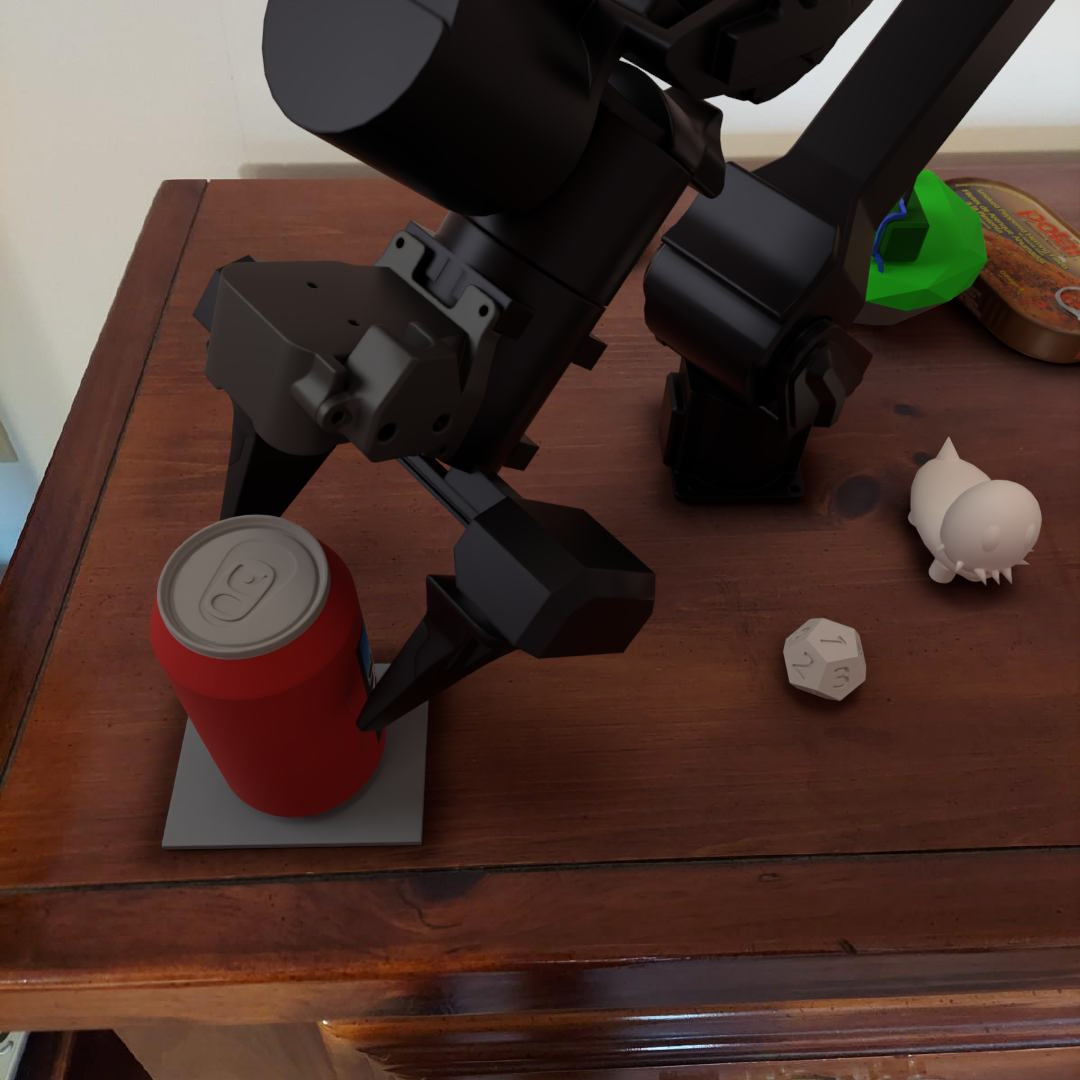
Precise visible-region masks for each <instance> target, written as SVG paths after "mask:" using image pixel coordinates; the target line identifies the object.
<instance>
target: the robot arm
mask: <svg viewBox="0 0 1080 1080" xmlns="http://www.w3.org/2000/svg"><path fill="white" fill-rule="evenodd" d="M873 2H874V0H267V3H266V8H265V12H264V17H263V22H262V23H263V24H262V36H261V37H262V38H261V55H262V65H263V73H264V77H265V81H266V83H267V87H268V89H269V93H270V95H271V97H272V99H273V101H274V102H275V104H276V105H277V107H278V108H279V109H280V111H281V112H282V114H283V115H284V116H285V117H286V119H288V120H289V121H290V122H291V123H292V124H294V125H296V126H297V127H299V128H300V129H302V130H304V131H306V132H307V133H310V134H312V136H315V137H317V138H318V139H320V140H322V141H323V142H325V143H327V144H329V145H331V146H333V147H334V148H336V149H337V150H340V151H341V152H343V153H346V154H347V155H348V156H350V157H352V158H354V159H356V160H357V161H359V162H361V163H363V164H365V165H367V166H368V167H370V168H372V169H374V170H375V171H377V172H379V173H381V174H383V175H384V176H386V177H388V178H390V179H391V180H393V181H395V182H397V183H399V184H400V185H402V186H404V187H406V188H407V189H410V190H411V191H413V192H415V193H417V194H418V195H420V196H422V197H423V198H425V199H427V200H429V201H431V202H433V203H434V204H435V205H437V206H440V207H441V208H443V209H445V210H448V212H447V214H446V215H445V217H444V218H443V220H442V222H441V223H440V226H439V227H438V229H437V230H436V231H433V230H432V229H429V228H427V227H426V226H424V225H422V224H420V223H418V222H416V221H414V220H413V219H410V220H408V221H409V222H407V225H406V226H405V228H404V229H400V230H397V231H396V232H395V233H394V234H393V235H392V237H391V239H390V241H389V243H388V244H387V246H386V248H385V250H384V251H383V253H382V254H381V255H380V256H379V257H378V258H377V259H376V260H375V261H374V262H373V263H372V264H371V265H366V264H365V265H364V264H351V263H348V262H344V261H339V260H285V261H284V260H282V261H279V260H278V261H275V260H274V261H266V260H264V259H261V258H258V257H255V256H253V255H250V254H247V255H245V256H243V257H240V258H237V259H236V260H234V261H231V262H230V263H227V264H225V265H222V266H221V267H219V268H216V269H215V271H214V272H213V274H212V275H211V276H212V277H210V280H209V282H208V284H207V286H206V288H205V290H204V292H203V293H202V295H201V297H200V299H199V301H198V303H197V305H196V306H195V308H194V311H193V312H192V314H191V315H192V316H193V318H194V319H196V320H197V322H198V323H199V324H200V325H201V326H202V327H203V328H205V330H206V331H207V332H208V333H209V334H210V335H209V339H207V340H206V341H205V352H206V357H205V358H206V359H205V365H204V370H203V373H204V376H205V378H206V379H207V381H208V382H209V383H210V384H211V386H213V387H214V389H216V390H217V391H221V390H223V391H224V392H225V393H226V394H227V395H228V396H229V398H230V402H231V404H232V411H233V414H232V417H233V418H232V426H231V428H232V429H231V439H230V440H231V441H230V449H229V458H228V464H227V471H226V477H225V484H224V488H223V489H224V490H223V495H222V501H221V508H220V515H219V521H222V520H225V519H229V518H232V517H237V516H244V515H269V516H275V517H280V518H282V516H283V514H284V513H285V512H286V511H287V510H288V508H289V507H290V506H291V504H292V503H293V502H294V500H295V499H296V498H297V497H298V496H299V494H300V493H301V492H302V491H303V489H304V488H305V486H307V484H308V483H309V482H310V481H311V480H312V478H313V477H314V475H315V474H316V472H317V471H318V470H319V469H320V468H321V467H322V465H323V464H324V462H325V461H326V460H327V459H328V458H329V457H330V455H331V454H332V453H333V452H334V450H335V449H336V447H338V446H339V445H344V444H350V443H351V444H352V445H353V446H354V447H355V448H356V449H357V450H358V451H359V452H360V453H361V454H362V455H363V457H365V458H366V459H367V460H368V461H369V462H371V463H373V464H377V463H382V462H387V461H388V462H389V461H392V460H396V461H397V463H399V464H400V465H401V466H402V467H403V468H404V469H405V470H406V471H407V472H408V473H409V474H410V475H411V476H412V477H413V478H414V479H415V480H416V482H418V483H419V484H420V485H421V486H423V488H424V489H425V490H427V492H428V493H429V494H431V495H432V496H433V498H435V499H436V500H437V501H438V502H439V503H440V504H441V506H442V507H444V508H445V509H446V510H447V511H448V512H449V513H450V514H451V515H452V516H453V517H454V518H455V520H457V521H458V522H459V523H460V524H461V525H462V526H463V527H464V528H465V530H464V531H463V532H462V534H461V536H460V537H459V539H458V540H457V542H456V544H454V547H453V562H454V563H453V564H454V574H453V575H452V574H436V573H435V574H434V573H428V574H427V575H426V577H425V592H426V593H425V595H426V610H425V611H426V612H425V614H424V616H423V617H422V619H421V620H420V622H419V623H418V624H417V626H416V627H415V629H414V630H413V632H412V633H411V635H410V636H409V638H408V639H407V640H406V642H405V643H404V645H403V646H402V647H401V649H400V650H399V651H398V653H397V655H396V656H395V657H394V659H393V660H392V662H390V664H391V665H390V666H389V667H388V669H387V670H386V672H385V673H384V674H383V676H382V677H381V679H380V680H379V682H378V683H377V684H376V686H375V687H374V689H373V690H372V692H371V693H370V695H369V697H368V699H367V701H366V703H365V705H364V707H363V709H362V711H361V713H360V714H359V716H358V718H357V720H356V726H357V727H358V728H359V730H360V731H361V732H370V731H377V730H380V729H382V728H384V727H386V726H387V725H389V724H391V723H392V722H394V721H396V720H397V719H399V718H400V717H402V716H404V715H405V714H407V713H408V712H410V711H412V710H413V709H415V708H416V707H418V706H420V705H421V704H423V703H425V702H426V701H428V700H429V701H430V700H431V699H433V698H434V697H436V696H438V695H439V694H441V693H443V692H444V691H446V690H447V689H449V688H451V687H452V686H454V685H455V684H457V683H459V682H460V681H462V680H463V679H465V678H467V677H468V676H470V675H471V674H473V673H475V672H476V671H478V670H480V669H482V668H484V667H485V666H487V665H489V664H491V663H492V662H494V661H496V660H497V661H498V660H499V659H500V658H503V657H505V656H507V655H509V654H512V653H513V652H516V651H522V652H524V653H526V654H528V655H530V656H532V657H534V658H535V659H537V660H543V659H557V658H573V657H585V656H598V655H613V654H624V653H625V651H626V650H627V649H628V647H629V646H630V645H631V643H632V642H633V640H634V639H635V638H636V636H638V634H639V633H640V631H641V630H642V629H643V628H644V627H645V625H646V623H647V622H648V621H649V619H650V618H651V616H653V613H654V608H655V603H656V602H655V601H656V585H657V584H656V583H657V573H656V572H655V571H654V570H653V569H652V568H651V567H649V566H648V564H646V563H645V562H643V561H642V560H641V559H640V558H639V557H638V556H637V555H636V554H635V553H634V552H632V551H631V550H630V549H629V548H628V547H627V546H625V545H624V544H623V543H622V542H621V541H620V540H619V539H618V538H617V537H616V536H614V535H613V534H612V533H611V532H610V531H609V530H608V529H607V528H605V527H604V526H603V525H602V524H601V523H599V521H597V520H596V519H595V518H594V517H593V516H592V515H591V514H590V513H589V512H588V511H586V510H585V509H584V508H579V507H573V506H569V505H563V504H558V503H551V502H545V501H542V500H541V501H540V500H535V499H530V498H524V497H523V496H521V495H520V494H519V493H518V491H516V490H515V489H514V488H513V487H512V486H511V485H510V484H509V483H507V481H505V479H503V478H502V477H501V476H500V475H499V473H500V471H501V470H502V468H503V467H504V468H507V469H512V470H515V471H521V472H525V471H526V469H527V468H528V466H529V464H530V463H531V462H532V460H533V458H534V457H535V456H536V454H537V452H538V451H539V450H540V446H539V445H538V444H537V443H536V442H534V441H533V440H532V439H531V437H529V436H528V435H526V434H525V433H526V431H527V430H528V428H529V427H530V426H531V424H532V422H533V421H534V419H535V418H536V417H537V415H538V414H539V412H540V411H541V409H542V407H543V406H544V404H545V403H546V402H547V400H548V399H549V397H550V395H551V394H552V393H553V391H554V389H555V387H556V386H557V385H558V383H559V382H560V381H561V379H562V377H563V376H564V374H565V373H566V371H567V369H568V368H569V366H570V365H571V364H573V365H576V366H577V367H580V368H583V369H585V370H588V371H590V372H592V370H593V369H594V367H595V366H596V364H597V363H598V361H599V360H600V358H601V357H602V355H603V354H604V353H605V351H606V349H607V347H608V344H607V343H605V341H603V340H602V339H600V338H599V337H598V336H597V335H595V334H594V333H592V332H593V330H594V329H595V327H596V326H597V324H598V322H599V321H600V320H601V318H602V316H603V315H604V314H605V312H606V311H607V307H609V306H610V304H611V303H612V302H613V300H614V298H615V297H616V295H617V294H618V292H619V291H620V290H621V287H622V286H623V284H624V283H625V281H626V280H627V279H628V277H629V276H630V274H631V272H632V271H633V269H634V268H635V266H636V265H637V263H638V262H639V260H640V259H641V257H642V256H643V255H644V253H645V251H646V250H647V248H648V247H649V245H650V244H651V242H652V241H653V239H654V238H655V236H656V235H657V233H658V232H659V230H660V228H661V227H662V226H663V224H664V222H665V221H666V220H667V218H668V216H669V215H670V214H671V212H672V210H673V209H674V208H675V206H676V204H677V203H678V201H679V200H680V198H681V197H682V195H683V193H684V192H685V191H686V189H687V188H688V187H689V188H690V189H692V190H694V191H695V192H697V195H696V197H694V199H693V201H692V202H691V204H690V205H689V207H688V208H687V210H686V211H685V212H684V213H683V215H681V216H680V218H679V219H678V220H677V221H676V223H674V224H673V225H672V226H671V227H670V228H669V229H668V230H667V231H665V232H664V233H663V234H662V235H661V237H660V242H661V244H660V245H659V247H658V248H657V249H656V250H655V251H654V253H653V255H652V256H651V258H650V259H649V262H648V263H647V266H646V268H645V270H644V275H643V278H642V279H643V280H642V289H643V291H642V292H643V295H644V299H645V300H644V305H643V316H644V324H645V325H646V327H647V329H648V330H649V331H650V333H652V335H654V338H655V341H656V342H657V343H659V344H660V345H662V346H663V347H666V346H667V348H668V349H670V350H672V351H673V352H675V353H676V354H677V355H679V356H680V363H679V369H678V371H670V372H668V374H667V375H666V377H665V378H666V379H665V385H664V391H663V397H662V404H661V410H660V415H659V422H658V429H657V431H658V437H659V444H660V445H659V447H660V453H661V460H662V464H663V465H664V467H666V468H669V469H670V476H671V477H670V478H671V484H672V489H673V490H672V492H673V496H674V499H675V500H676V501H677V502H680V503H684V504H699V503H700V504H703V503H704V504H707V503H713V504H715V503H716V504H717V503H719V504H721V503H725V504H726V503H796V502H800V501H801V500H802V499H803V498H804V495H805V493H806V488H805V484H804V479H803V476H802V470H801V466H800V465H801V462H802V458H803V456H804V452H805V449H806V446H807V442H808V440H809V437H810V434H811V431H812V428H820V429H821V428H823V429H830V428H832V426H834V425H836V424H837V423H838V422H839V419H840V417H841V413H842V411H843V408H844V405H845V402H846V399H847V398H849V397H850V396H852V395H853V393H854V392H855V391H856V389H857V388H858V387H859V386H860V385H861V384H862V382H863V380H864V375H865V374H866V371H867V369H868V368H869V366H870V364H871V362H872V360H873V358H874V353H872V352H871V350H869V349H868V348H866V346H864V345H863V344H862V343H860V342H859V341H858V339H856V338H855V337H854V336H852V335H851V334H850V333H849V332H847V331H848V330H849V329H850V328H851V326H852V324H854V323H853V322H854V320H855V319H856V317H857V316H858V314H859V313H860V312H861V310H862V308H863V307H864V304H865V300H866V293H867V286H868V279H869V272H870V264H871V257H872V250H873V243H874V236H875V232H876V230H877V229H878V227H879V226H880V224H881V223H882V222H883V220H884V219H885V217H886V216H887V215H888V214H889V212H890V211H891V210H892V209H893V207H894V206H895V205H896V203H897V202H898V201H899V200H900V198H901V197H902V196H903V194H904V193H905V192H906V191H907V189H908V188H909V187H910V186H911V184H912V183H913V182H914V180H915V179H916V178H917V177H918V175H919V174H920V173H921V171H922V170H925V168H926V166H927V165H928V164H929V163H930V161H932V159H933V157H934V156H935V155H936V154H937V153H938V151H939V150H940V148H941V147H942V146H943V145H944V143H945V142H947V140H948V138H949V137H950V136H951V135H952V133H953V132H954V131H955V130H956V129H957V127H958V126H959V124H960V123H961V122H962V120H963V119H964V118H965V117H966V116H967V114H968V113H969V112H970V111H971V109H972V108H973V106H974V105H975V104H976V103H977V101H978V100H979V99H980V97H982V95H983V94H984V92H985V91H986V90H987V88H989V86H990V85H991V83H992V82H993V81H994V80H995V78H996V77H997V76H998V75H999V73H1000V72H1001V71H1002V70H1003V68H1004V67H1005V65H1007V63H1008V62H1009V60H1010V59H1011V58H1012V57H1013V55H1014V54H1015V53H1016V51H1017V50H1018V49H1019V48H1020V46H1021V45H1022V44H1023V43H1024V41H1025V40H1026V38H1028V36H1029V35H1030V33H1032V31H1033V30H1034V29H1035V27H1036V26H1037V25H1038V23H1039V22H1040V21H1041V19H1042V18H1043V17H1044V16H1045V14H1046V13H1047V12H1048V11H1049V10H1050V8H1051V7H1052V6H1053V4H1054V3H1055V2H1056V0H900V1H899V3H898V4H897V6H896V7H895V8H894V9H893V11H892V13H890V15H889V17H887V19H886V21H885V22H884V23H883V25H882V26H881V27H880V29H879V30H878V31H877V32H876V34H875V35H874V37H873V38H872V39H871V41H870V42H869V43H868V44H867V46H866V47H865V49H863V51H862V53H861V54H860V55H859V56H858V58H857V59H856V61H854V63H853V65H852V66H851V67H850V69H848V72H847V73H846V74H845V75H844V77H843V78H842V79H841V81H840V82H839V83H838V85H837V86H836V87H835V89H834V90H833V91H832V93H830V96H829V97H828V98H827V100H826V101H825V102H824V104H823V105H822V106H821V108H820V109H819V110H818V111H817V113H816V114H815V115H814V116H813V118H812V120H811V121H810V122H809V123H808V125H807V126H806V128H805V129H804V130H803V131H802V132H801V134H800V135H799V137H798V138H797V140H796V141H795V142H794V143H793V144H792V146H791V147H790V148H789V149H788V150H787V151H786V153H785V154H783V155H782V156H779V157H777V158H776V159H774V160H771V161H769V162H767V163H765V164H762V165H760V166H758V167H756V168H753V169H752V170H749V169H746V168H745V167H743V166H742V165H739V164H738V163H737V162H734V161H733V160H729V161H726V160H725V156H724V152H723V149H722V148H723V147H722V140H721V139H722V138H721V134H722V127H723V126H722V125H723V121H724V112H723V110H722V109H721V108H720V107H718V106H716V105H715V104H713V103H711V102H709V101H707V100H708V99H712V98H717V97H720V96H725V97H727V98H730V99H733V100H736V101H741V102H750V103H751V104H752V105H756V106H758V105H761V104H764V103H767V102H770V101H772V100H774V99H776V98H777V97H779V96H780V95H782V94H783V93H784V92H786V91H788V89H790V88H792V87H793V86H795V85H796V84H797V83H799V82H800V80H802V78H803V77H805V76H806V75H807V74H809V73H810V72H811V71H812V70H814V69H815V68H816V67H817V66H819V65H820V64H822V62H823V61H824V60H825V58H826V57H827V55H828V54H829V53H830V52H831V51H832V49H833V48H834V47H835V46H836V44H837V42H838V40H839V39H840V38H841V37H842V36H843V35H844V34H845V33H846V32H847V30H849V28H851V26H853V24H854V23H855V22H857V19H859V18H860V16H862V15H863V13H864V12H865V11H866V10H867V9H868V8H869V7H870V6H871V5H872V4H873ZM621 58H622V59H624V60H626V61H627V62H626V61H624V60H621ZM646 72H647V73H646ZM649 74H650V75H651V76H654V77H655V78H657V79H658V80H660V81H662V82H664V83H665V84H667V85H669V87H668V88H665V89H663V88H661V87H660V85H659V84H658V83H657V82H656V81H655V80H654V79H653V78H652V77H651V76H650V75H649ZM440 462H441V463H440ZM442 463H443V464H444V465H447V466H448V467H450V468H449V469H447V468H446V467H445V466H443V465H442ZM683 492H685V493H683ZM219 521H218V522H219Z"/></svg>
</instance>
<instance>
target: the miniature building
mask: <svg viewBox="0 0 1080 1080" xmlns="http://www.w3.org/2000/svg"><path fill="white" fill-rule="evenodd" d="M943 181H944V180H942V179H941V178H940V177H939V176H938V175H937V174H936V173H934V172H933V170H931V169H923V170H922V171H921V173H920V174H919V175H918V177H917V178H916V179H915V180H914V182H913V183H912V184H911V186H910V187H909V188H908V189H907V191H906V192H905V193H904V194H903V196H902V197H901V198H900V200H899V201H898V202H897V203H896V205H895V206H894V207H893V209H892V210H891V211H890V212H889V214H888V215H887V216H886V217H885V219H884V220H883V222H882V223H881V224H880V226H879V227H878V229H877V230H876V232H875V236H874V243H873V250H872V257H871V264H870V272H869V279H868V286H867V293H866V300H865V304H864V307H863V308H862V310H861V312H860V313H859V314H858V316H857V317H856V319H855V320H854V322H853V323H852V324H860V325H868V326H870V325H871V326H894V325H896V324H899V323H901V322H904V321H906V320H907V319H910V318H913V317H915V316H918V315H920V314H922V313H925V312H927V311H929V310H931V309H933V308H936V307H938V306H940V305H943V304H946V303H948V302H950V301H951V300H953V299H954V298H956V296H957V295H959V294H960V293H962V292H963V291H965V290H966V289H968V288H969V287H971V286H972V284H973V282H974V281H975V279H976V278H977V276H978V274H979V273H980V271H981V270H982V268H983V267H984V265H985V263H986V262H987V254H986V249H985V243H984V237H983V232H982V226H981V220H980V215H979V214H978V213H977V212H976V211H974V210H973V209H972V208H971V207H970V206H969V205H968V204H967V203H966V202H965V201H964V200H963V199H961V198H960V197H959V196H958V195H957V194H956V193H955V192H954V191H953V190H952V189H951V188H950V187H948V186H947V185H946V184H945V183H944V182H943Z"/></svg>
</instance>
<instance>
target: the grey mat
mask: <svg viewBox="0 0 1080 1080" xmlns="http://www.w3.org/2000/svg"><path fill="white" fill-rule="evenodd" d="M390 665H391V663H374V668H375V672H376V677H377V682H379V680H380V679H381V677H382V676H383V674H384V673H385V672H386V670H387V669H388V667H389V666H390ZM429 701H430V699H429V700H428V701H426V702H425V703H423V704H421V705H420V706H418V707H416V708H415V709H413V710H412V711H410V712H408V713H407V714H405V715H404V716H402V717H400V718H399V719H397V720H396V721H394V722H392V723H391V724H389V725H387V726H386V741H385V747H384V751H383V754H382V757H381V759H380V762H379V764H378V766H377V768H376V769H375V771H374V773H373V774H372V776H371V777H370V779H369V780H368V781H367V782H366V784H365V785H364V786H363V787H362V788H361V789H360V790H359V791H358V792H357V793H355V794H354V795H353V796H352V797H350V798H349V799H348V800H346V801H345V802H343V803H342V804H340V805H338V806H336V807H334V808H332V809H329V810H327V811H324V812H322V813H318V814H314V815H310V816H304V817H280V816H274V815H270V814H267V813H264V812H261V811H259V810H257V809H254V808H253V807H251V806H249V805H248V804H246V803H245V802H243V801H242V800H241V799H240V798H239V797H238V796H237V795H236V794H235V793H234V792H233V791H232V789H231V788H230V787H229V785H228V783H227V782H226V780H225V778H224V777H223V775H222V773H221V772H220V770H219V768H218V767H217V765H216V763H215V762H214V760H213V758H212V757H211V755H210V753H209V751H208V750H207V748H206V746H205V744H204V743H203V741H202V739H201V738H200V736H199V734H198V732H197V731H196V729H195V727H194V725H193V723H192V722H191V720H190V718H189V716H188V715H187V721H186V726H185V731H184V735H183V740H182V745H181V750H180V754H179V760H178V764H177V769H176V774H175V778H174V783H173V789H172V793H171V798H170V802H169V806H168V807H169V808H168V813H167V816H166V817H167V818H166V822H165V826H164V831H163V837H162V840H161V841H162V842H161V848H162V849H163V850H168V851H169V850H214V849H215V850H216V849H217V850H218V849H219V850H220V849H221V850H223V849H224V850H225V849H226V850H227V849H275V848H277V849H279V848H280V849H281V848H329V847H334V848H335V847H388V846H390V847H391V846H421V845H422V844H423V830H424V826H423V825H424V808H425V785H426V765H427V746H428V745H427V743H428V724H429V723H428V721H429Z"/></svg>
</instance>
